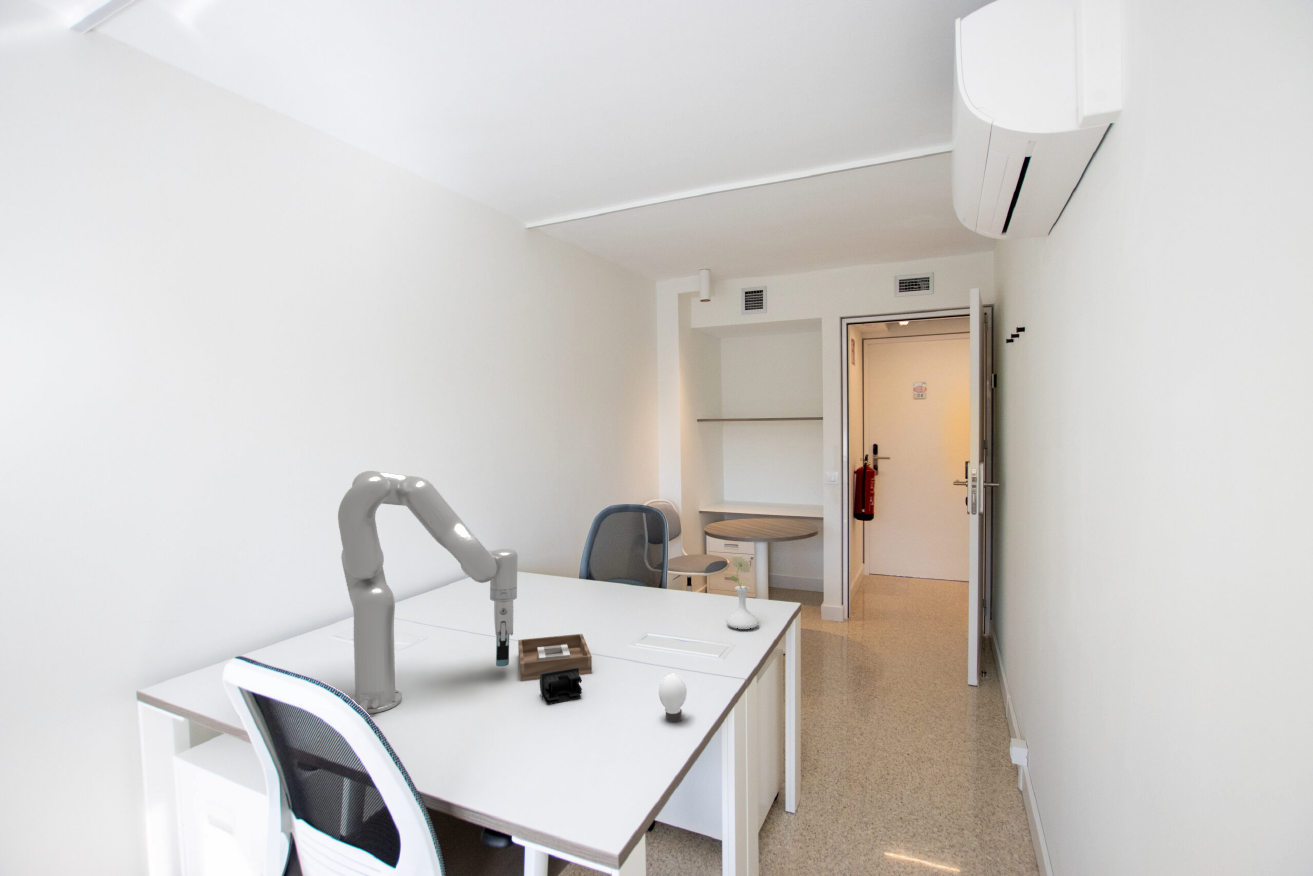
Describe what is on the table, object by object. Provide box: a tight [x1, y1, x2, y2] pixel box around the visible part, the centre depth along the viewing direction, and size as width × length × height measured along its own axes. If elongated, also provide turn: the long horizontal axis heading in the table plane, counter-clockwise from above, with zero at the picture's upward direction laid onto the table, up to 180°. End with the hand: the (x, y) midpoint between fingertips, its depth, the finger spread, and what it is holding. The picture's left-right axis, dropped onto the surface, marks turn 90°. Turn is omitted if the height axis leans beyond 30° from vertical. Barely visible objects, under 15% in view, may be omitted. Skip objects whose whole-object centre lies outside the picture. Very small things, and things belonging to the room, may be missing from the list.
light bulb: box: [658, 672, 687, 723], centre depth 152 cm, size 7×7×11 cm
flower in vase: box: [725, 554, 760, 630], centre depth 220 cm, size 13×11×25 cm
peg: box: [495, 631, 510, 668], centre depth 180 cm, size 4×4×10 cm
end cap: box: [539, 667, 583, 706], centre depth 165 cm, size 10×7×7 cm
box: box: [517, 633, 593, 682], centre depth 188 cm, size 20×20×5 cm
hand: (502, 656), depth 180 cm, fingers closed on peg, 3 cm apart
